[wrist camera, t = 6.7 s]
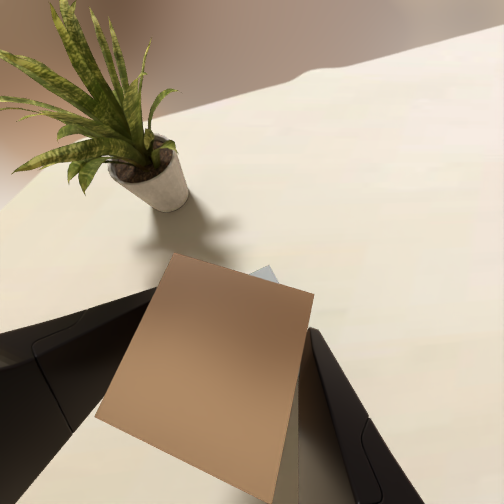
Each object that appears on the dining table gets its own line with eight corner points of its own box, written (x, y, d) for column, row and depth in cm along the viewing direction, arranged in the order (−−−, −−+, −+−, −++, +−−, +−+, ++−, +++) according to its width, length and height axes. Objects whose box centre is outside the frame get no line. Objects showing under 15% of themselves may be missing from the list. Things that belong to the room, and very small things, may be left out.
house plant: (105, 172, 27) (-94, -16, 12) (194, 139, 29) (115, -69, 14) (123, 256, 22) (-176, 112, 7) (229, 210, 24) (168, 9, 9)
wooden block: (266, 378, 15) (271, 504, 4) (207, 355, 15) (94, 416, 5) (282, 313, 16) (314, 294, 6) (228, 295, 17) (174, 252, 7)
